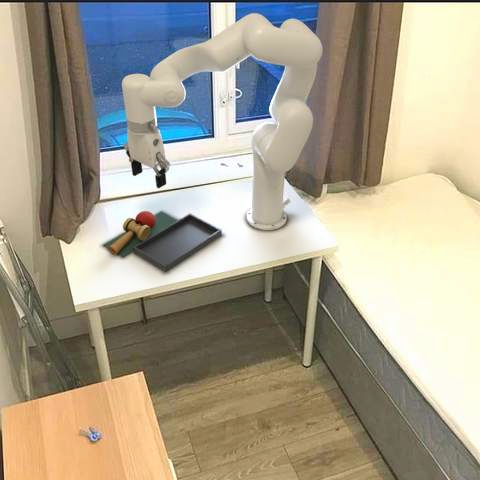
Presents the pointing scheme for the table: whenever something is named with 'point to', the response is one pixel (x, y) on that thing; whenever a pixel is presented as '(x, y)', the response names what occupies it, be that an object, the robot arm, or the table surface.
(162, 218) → the mat
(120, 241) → the kendama
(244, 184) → the table surface
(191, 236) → the dark grey flat tray
